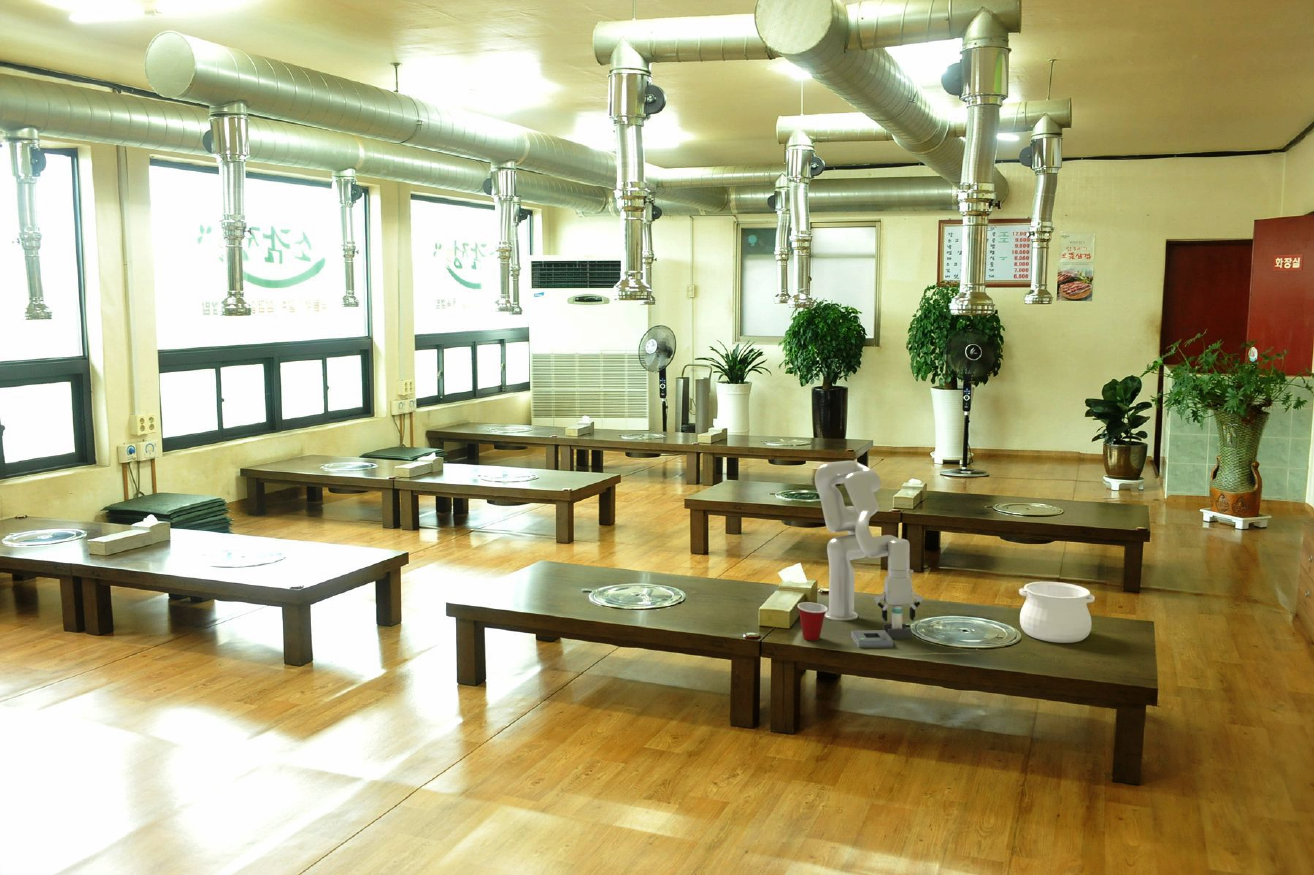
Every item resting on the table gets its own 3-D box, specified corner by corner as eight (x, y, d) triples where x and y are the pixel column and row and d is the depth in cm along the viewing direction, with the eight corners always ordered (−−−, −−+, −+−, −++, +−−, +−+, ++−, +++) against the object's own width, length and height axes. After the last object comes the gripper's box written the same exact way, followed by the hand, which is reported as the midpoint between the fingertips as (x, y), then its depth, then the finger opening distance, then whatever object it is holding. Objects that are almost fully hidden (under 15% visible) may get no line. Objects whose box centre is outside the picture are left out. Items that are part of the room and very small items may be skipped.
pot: (1013, 639, 375) (1015, 593, 373) (1021, 621, 397) (1023, 578, 395) (1090, 649, 364) (1093, 602, 362) (1094, 630, 386) (1096, 585, 384)
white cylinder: (890, 633, 380) (891, 603, 379) (900, 633, 380) (901, 603, 379) (892, 636, 377) (893, 606, 375) (903, 636, 377) (903, 606, 376)
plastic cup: (822, 644, 369) (823, 611, 368) (793, 640, 374) (793, 608, 373) (830, 636, 379) (831, 603, 378) (802, 632, 384) (802, 600, 382)
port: (851, 638, 376) (851, 629, 376) (884, 638, 376) (884, 629, 376) (858, 649, 364) (858, 640, 364) (892, 648, 365) (893, 639, 364)
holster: (882, 633, 382) (883, 623, 382) (904, 632, 383) (904, 623, 382) (888, 640, 375) (888, 630, 374) (910, 639, 375) (910, 630, 374)
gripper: (919, 570, 380) (919, 616, 381) (872, 571, 379) (872, 617, 381) (925, 575, 372) (925, 622, 374) (877, 576, 372) (877, 623, 373)
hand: (898, 620), depth 377 cm, fingers open, 9 cm apart
